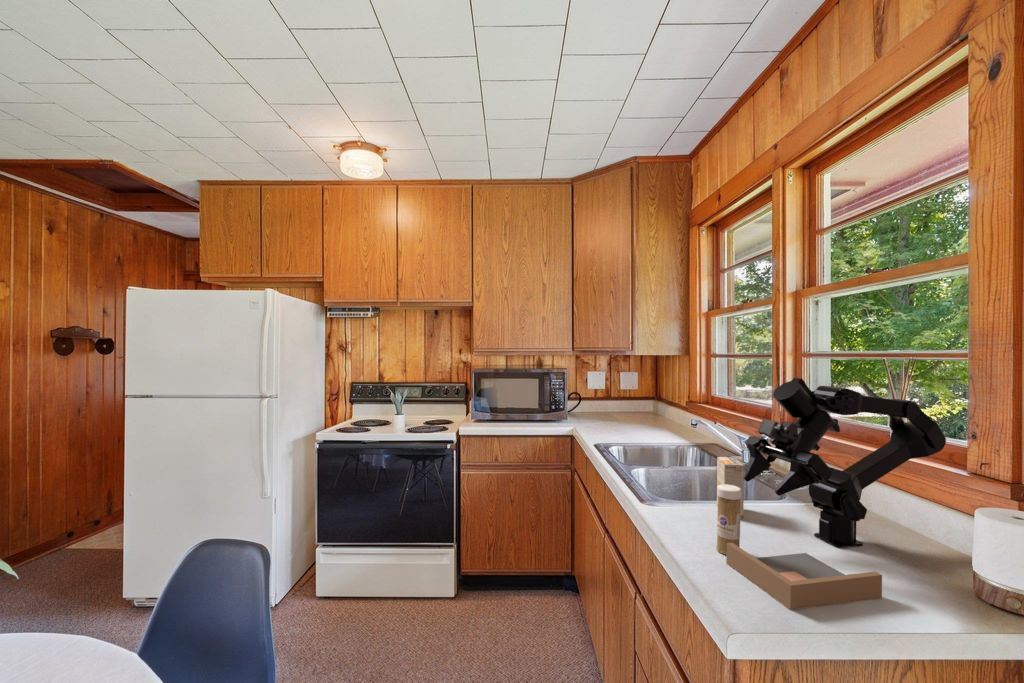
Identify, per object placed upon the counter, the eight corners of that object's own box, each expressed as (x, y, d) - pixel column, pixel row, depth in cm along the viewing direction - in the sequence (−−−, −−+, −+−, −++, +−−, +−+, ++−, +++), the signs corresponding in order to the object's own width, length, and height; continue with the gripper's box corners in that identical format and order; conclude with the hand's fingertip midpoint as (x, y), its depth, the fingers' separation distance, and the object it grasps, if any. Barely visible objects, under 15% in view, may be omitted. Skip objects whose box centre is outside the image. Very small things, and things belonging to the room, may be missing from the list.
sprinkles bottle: (713, 552, 99) (714, 487, 99) (720, 544, 102) (721, 482, 102) (737, 558, 96) (737, 492, 96) (743, 551, 99) (744, 486, 99)
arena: (805, 555, 98) (805, 535, 98) (881, 598, 82) (882, 574, 82) (726, 563, 94) (726, 543, 94) (790, 609, 78) (790, 585, 78)
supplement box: (744, 518, 117) (745, 465, 117) (723, 517, 118) (724, 464, 118) (735, 506, 125) (736, 457, 125) (716, 505, 126) (716, 455, 126)
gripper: (752, 400, 110) (709, 450, 108) (820, 413, 92) (769, 473, 90) (781, 433, 112) (739, 483, 110) (853, 452, 94) (804, 512, 92)
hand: (760, 486), depth 100 cm, fingers open, 9 cm apart
